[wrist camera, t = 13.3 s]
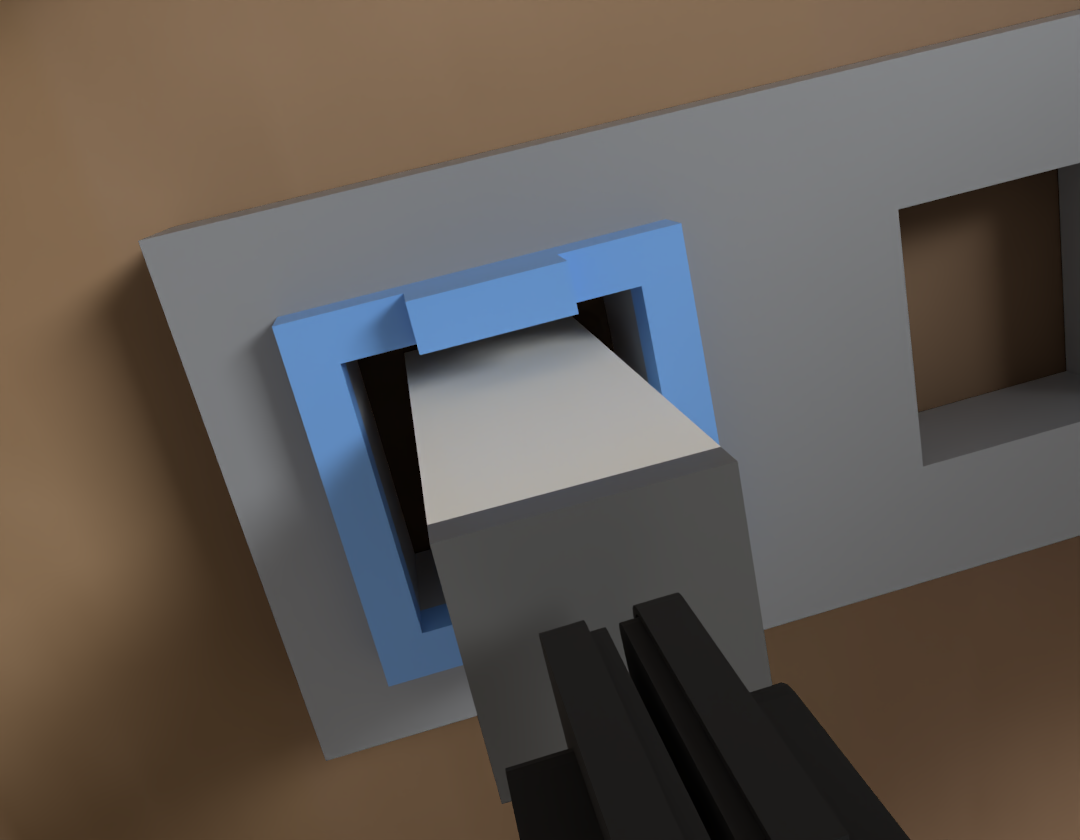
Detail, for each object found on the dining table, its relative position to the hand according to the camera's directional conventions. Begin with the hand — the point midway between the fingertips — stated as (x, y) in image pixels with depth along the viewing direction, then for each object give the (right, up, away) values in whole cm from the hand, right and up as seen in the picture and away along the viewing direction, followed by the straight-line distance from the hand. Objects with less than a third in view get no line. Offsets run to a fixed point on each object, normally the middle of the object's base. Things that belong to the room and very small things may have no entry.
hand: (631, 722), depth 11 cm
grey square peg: (-2, +4, +12) cm, 13 cm away
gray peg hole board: (+4, +5, +12) cm, 14 cm away
